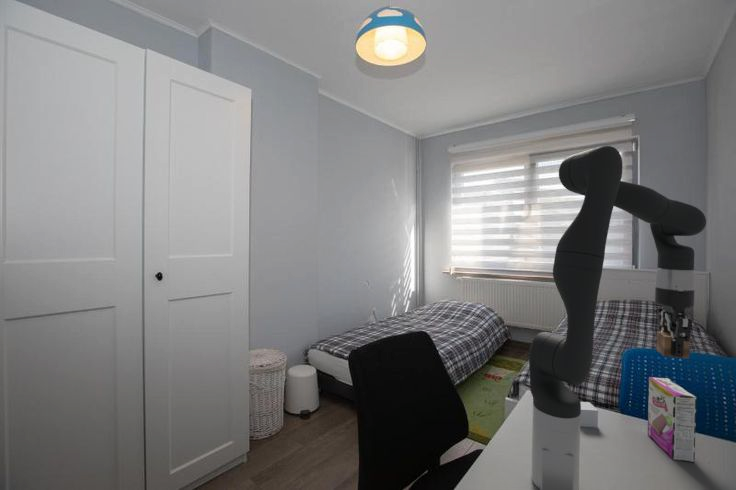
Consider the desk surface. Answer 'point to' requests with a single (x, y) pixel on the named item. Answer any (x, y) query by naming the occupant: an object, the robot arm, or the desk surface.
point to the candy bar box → (672, 418)
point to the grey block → (588, 415)
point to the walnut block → (665, 345)
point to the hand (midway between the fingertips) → (672, 352)
